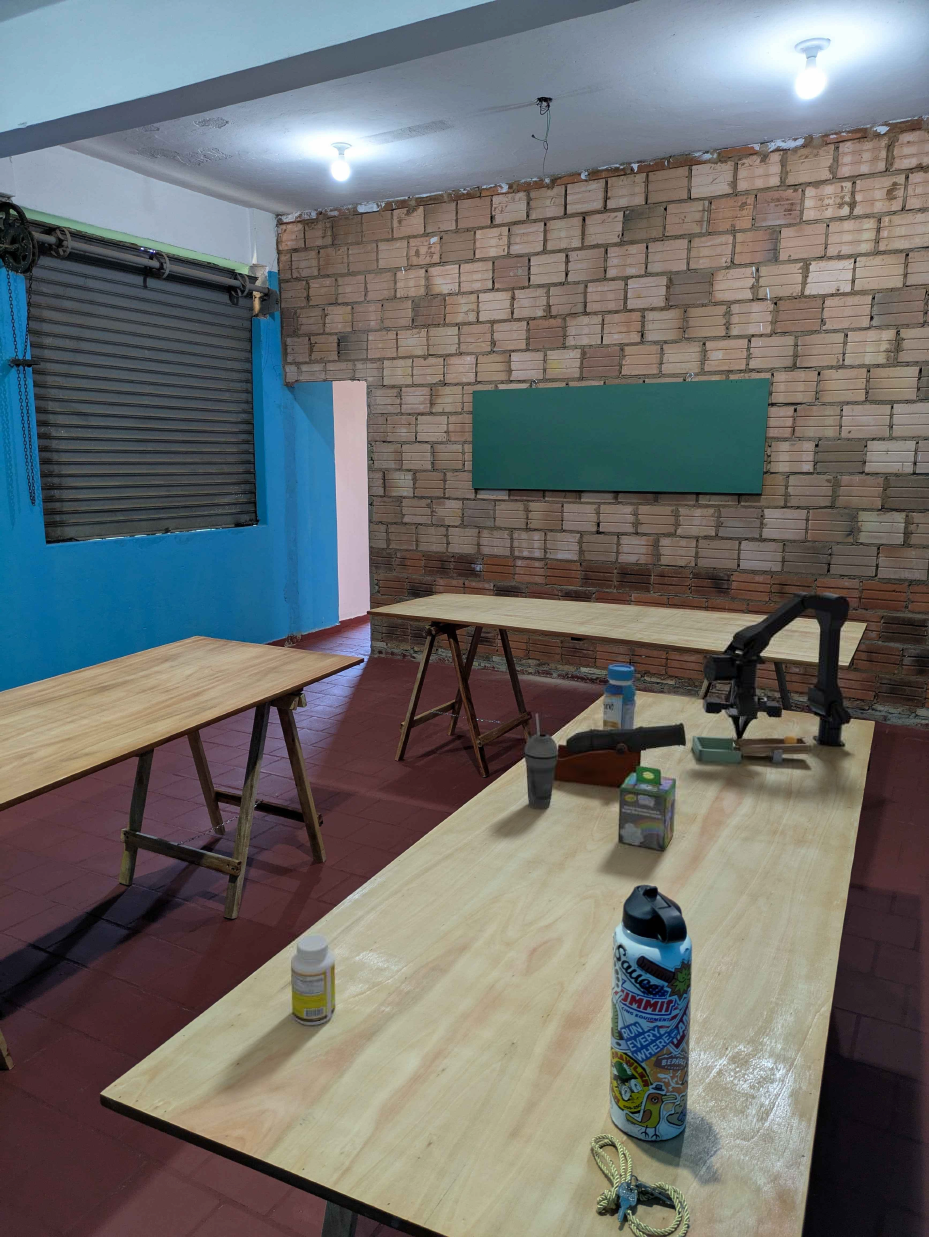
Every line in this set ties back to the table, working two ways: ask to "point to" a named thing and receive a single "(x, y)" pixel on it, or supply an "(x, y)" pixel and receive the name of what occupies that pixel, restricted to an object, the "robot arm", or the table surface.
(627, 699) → the beverage bottle
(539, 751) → the beverage cup
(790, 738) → the ball
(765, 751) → the chute
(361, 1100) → the table surface
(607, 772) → the cannon model
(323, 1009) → the supplement bottle
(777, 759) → the fulcrum
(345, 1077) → the table surface
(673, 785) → the chalk box
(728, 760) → the tray
